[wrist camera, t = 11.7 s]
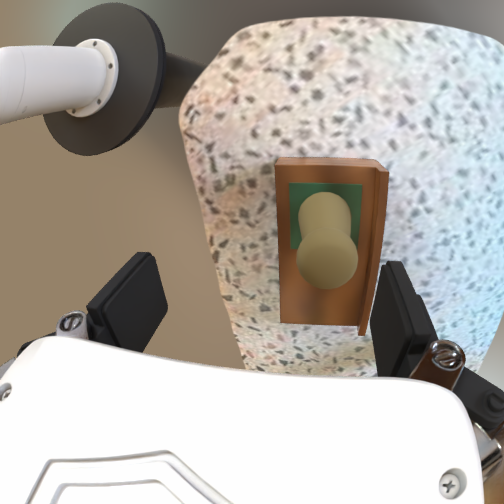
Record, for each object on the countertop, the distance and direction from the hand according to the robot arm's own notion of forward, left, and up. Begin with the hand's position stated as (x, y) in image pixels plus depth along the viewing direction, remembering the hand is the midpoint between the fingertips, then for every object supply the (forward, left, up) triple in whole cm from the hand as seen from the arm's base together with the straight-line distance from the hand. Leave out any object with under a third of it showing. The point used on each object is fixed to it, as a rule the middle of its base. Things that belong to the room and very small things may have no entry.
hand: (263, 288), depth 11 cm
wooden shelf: (+4, -10, -26) cm, 29 cm away
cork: (+3, -5, -21) cm, 22 cm away
